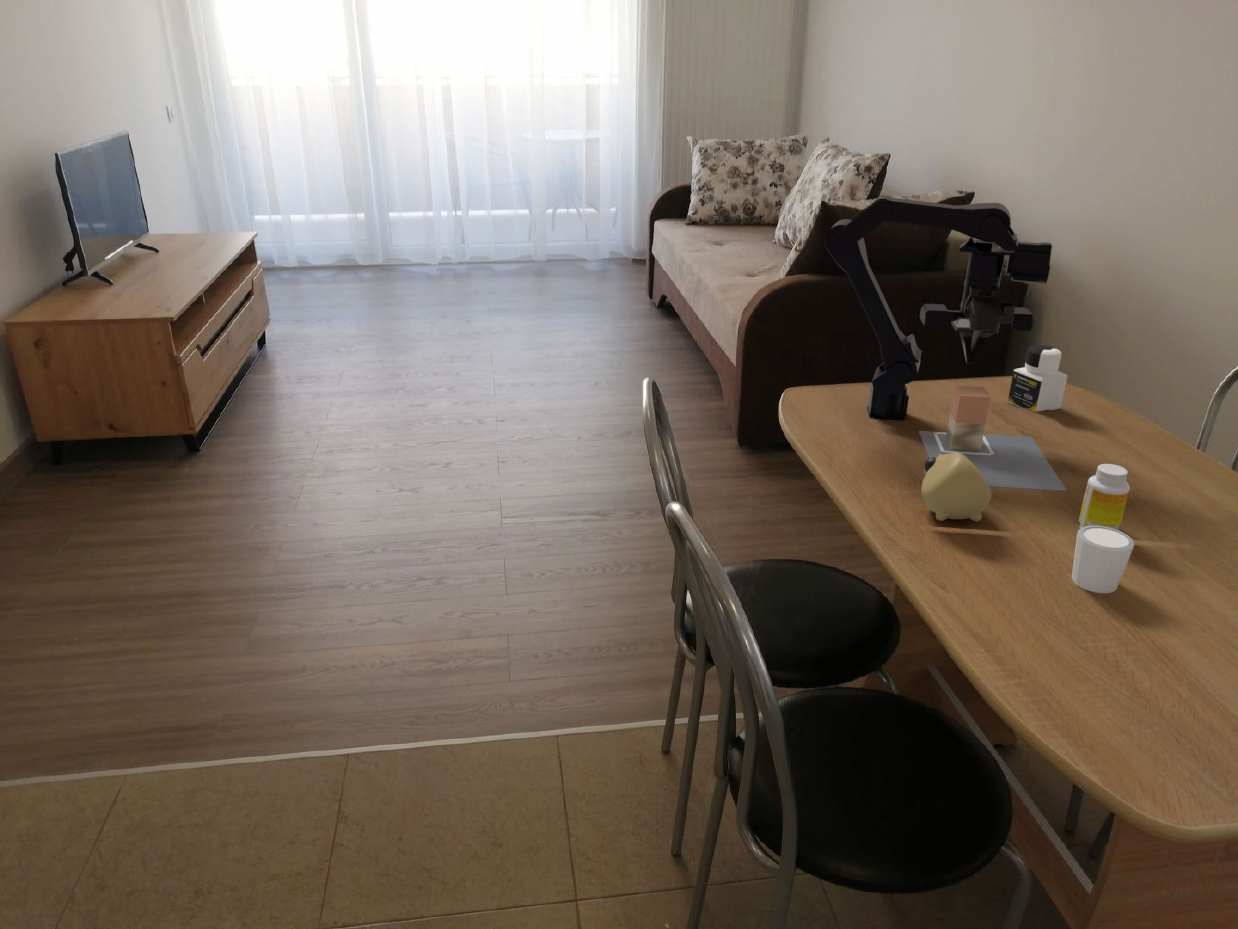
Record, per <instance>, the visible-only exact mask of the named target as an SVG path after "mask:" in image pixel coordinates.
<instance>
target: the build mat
mask: <svg viewBox="0 0 1238 929" xmlns="http://www.w3.org/2000/svg"><path fill="white" fill-rule="evenodd" d="M918 434H919V437H920V439H921V441H922V443H923V444H922V445H923V447H924V448H925V451H926V454H927V457H928V459H929V458H932V457H935V458H937V457H938V455H939V454H942V455H944V454H951V453H955V452H959V453H961V454H963V455H964V456H966V457H967V458H969V459H970V460H971V461H972V463H973V464H974V465H975V466H976V468H977V469H978V470H979V471H980V473H981V474H982V475H983V477H984V478H985V480H986V481H987V483H988V485H989V487H990V488H991V487H992V488H996V487H997V488H1009V489H1023V490H1024V489H1025V490H1039V491H1040V490H1041V491H1055V492H1056V491H1058V492H1068V490H1067V489H1066V487H1065V485H1064V484H1063V483H1062V481H1061V479H1060V478H1059V476H1058V475H1057V473H1056V471H1054V468H1053V467H1052V465H1051V464H1050V463H1049V461H1048V459H1047V458H1046V457H1045V455H1044V454H1043V451H1041V449H1040V448H1039V446H1038V444H1037V443H1036V441H1035V440H1034V439H1033V437H1032V436H1021V435H1019V436H1018V435H1017V436H1016V435H1003V434H1002V435H1000V434H986V433H984V434H983V440H982V445H981V450H965V449H951V447H950V445H949V443H948V441H947V438H946V435H947V431H946V432H945V431H929V430H918Z"/></svg>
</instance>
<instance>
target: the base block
mask: <svg viewBox="0 0 1238 929" xmlns="http://www.w3.org/2000/svg"><path fill="white" fill-rule="evenodd" d="M947 425H948V426H947V431H946V432H947V435H946V438H947V441H948V443H949V445H950V447H951V449H965V450H981V445H982V440H983V434H985V429H986V423H985V424H974V423H956V422H955V421H954V419H953V417H952V415H951V413H950V412H949V418H948V423H947Z"/></svg>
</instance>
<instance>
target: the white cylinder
mask: <svg viewBox="0 0 1238 929" xmlns="http://www.w3.org/2000/svg"><path fill="white" fill-rule="evenodd" d="M1134 542H1135V541H1134V539H1133V538H1131V536H1129V534H1126V533H1124V532H1122V531H1121V530H1120V529H1119V530H1116V529H1113V528H1109V527H1104V526H1085V527H1082V528H1080V527H1079V529H1078V530H1077V534H1076V542H1075V549H1074V550H1075V551H1074V556H1073V564H1072V571H1071V580H1072V581H1073V583H1074V584H1075V585H1077V586H1078V587H1080V588H1081V589H1083V590H1085V591H1088V592H1092V593H1096V594H1109V593H1114V592H1115V591H1116V590H1117V589H1118V587H1119V584H1120V582H1121V579H1122V577H1123V575H1124V572H1125V569H1126V567H1127V565H1128V562H1129V560H1130V557H1131V555H1132V552H1133V550H1134V547H1135V543H1134Z"/></svg>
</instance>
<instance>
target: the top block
mask: <svg viewBox="0 0 1238 929" xmlns="http://www.w3.org/2000/svg"><path fill="white" fill-rule="evenodd" d="M985 388H986V387H984V386H972V385H971V386H970V385H966V386H965V385H954V386H953V390H952V391H953V392H952V397H951V404H950V409H949V410H950V411H949V414H950V413H951V415H952V417H953V419H954V421H955V422H956V423H974V424H985V425H986V423H987V417H988V413H989V412H988V410H989V406H990V400H991V396H990V395H989V393H988V392H987V390H986V389H985Z"/></svg>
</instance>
